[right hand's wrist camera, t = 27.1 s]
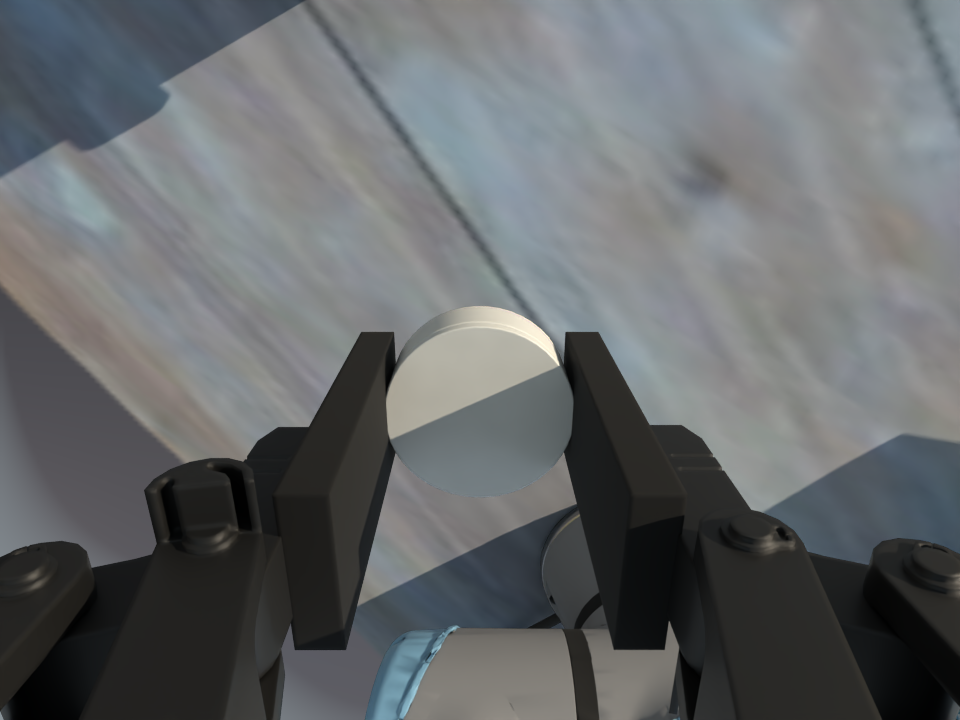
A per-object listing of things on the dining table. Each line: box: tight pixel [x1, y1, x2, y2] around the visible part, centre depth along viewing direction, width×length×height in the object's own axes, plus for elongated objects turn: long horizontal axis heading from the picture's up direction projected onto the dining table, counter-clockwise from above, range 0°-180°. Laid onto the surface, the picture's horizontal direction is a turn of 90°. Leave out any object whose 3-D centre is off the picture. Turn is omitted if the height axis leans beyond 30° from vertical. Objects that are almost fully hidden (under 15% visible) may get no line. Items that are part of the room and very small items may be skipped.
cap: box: [386, 306, 574, 497], centre depth 14 cm, size 4×4×2 cm
